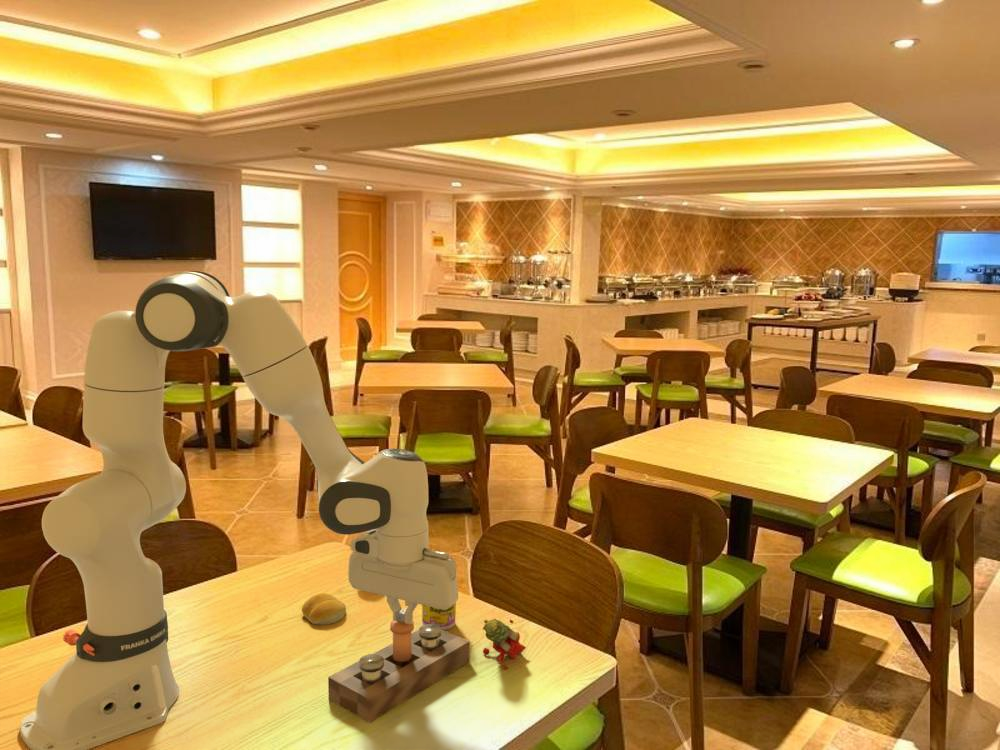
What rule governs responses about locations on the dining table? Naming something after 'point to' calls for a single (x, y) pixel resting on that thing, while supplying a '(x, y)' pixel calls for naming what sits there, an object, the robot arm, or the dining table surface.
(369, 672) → the grey metal capped cylinder
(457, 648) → the walnut block
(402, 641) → the plunger mid
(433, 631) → the plunger far
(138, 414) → the robot arm
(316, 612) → the bread roll
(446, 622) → the supplement bottle
